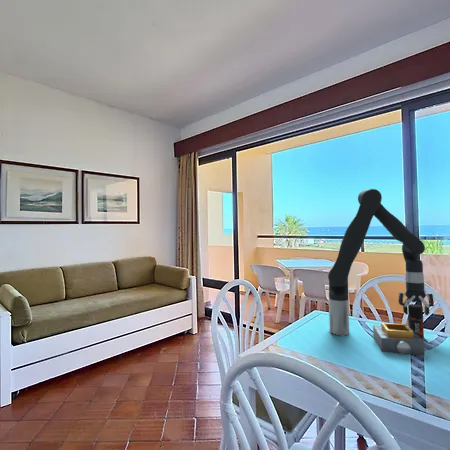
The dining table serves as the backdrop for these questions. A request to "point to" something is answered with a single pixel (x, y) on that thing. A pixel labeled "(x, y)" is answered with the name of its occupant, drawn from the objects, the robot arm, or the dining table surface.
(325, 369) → the dining table surface
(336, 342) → the dining table surface
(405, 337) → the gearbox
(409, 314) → the deodorant
